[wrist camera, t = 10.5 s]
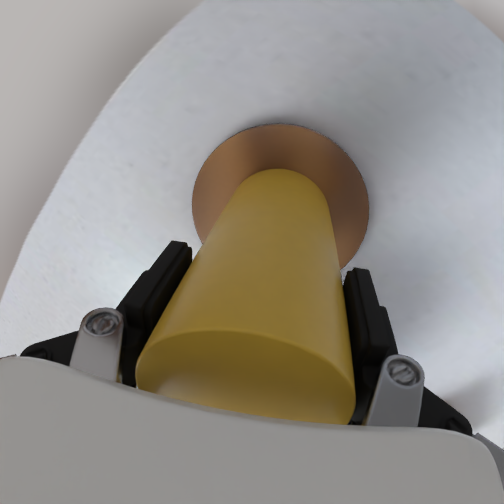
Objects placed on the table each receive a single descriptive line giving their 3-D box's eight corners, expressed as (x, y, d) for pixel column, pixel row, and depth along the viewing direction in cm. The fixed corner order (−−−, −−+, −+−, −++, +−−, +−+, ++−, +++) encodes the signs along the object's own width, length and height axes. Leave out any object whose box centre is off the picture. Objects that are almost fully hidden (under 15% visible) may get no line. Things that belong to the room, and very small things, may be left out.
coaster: (330, 95, 14) (331, 96, 14) (385, 256, 18) (387, 262, 18) (165, 168, 18) (161, 170, 17) (240, 301, 22) (238, 307, 21)
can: (307, 152, 16) (315, 296, 5) (342, 244, 18) (372, 440, 7) (211, 191, 17) (94, 349, 7) (254, 272, 20) (205, 457, 9)
